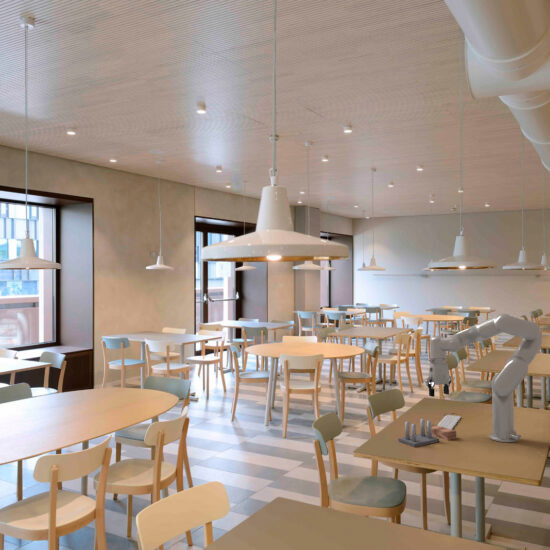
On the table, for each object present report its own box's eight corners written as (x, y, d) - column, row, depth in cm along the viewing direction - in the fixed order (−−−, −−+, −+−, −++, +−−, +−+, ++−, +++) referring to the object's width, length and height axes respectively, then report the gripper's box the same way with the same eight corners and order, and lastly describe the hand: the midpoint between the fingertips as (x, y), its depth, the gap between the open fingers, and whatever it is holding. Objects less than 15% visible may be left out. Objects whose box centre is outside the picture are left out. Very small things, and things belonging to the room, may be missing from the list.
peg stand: (439, 441, 262) (438, 421, 262) (414, 447, 254) (413, 426, 254) (422, 436, 272) (422, 417, 272) (398, 441, 264) (397, 421, 264)
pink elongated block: (456, 439, 267) (456, 430, 267) (447, 441, 264) (447, 432, 264) (434, 432, 279) (434, 424, 279) (426, 434, 276) (426, 426, 276)
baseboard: (431, 430, 285) (451, 432, 280) (431, 424, 285) (451, 426, 280) (442, 416, 312) (461, 418, 307) (442, 411, 312) (461, 413, 307)
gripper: (430, 363, 268) (431, 398, 268) (456, 360, 276) (457, 394, 276) (420, 361, 275) (420, 395, 275) (445, 358, 283) (446, 392, 283)
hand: (439, 395), depth 275 cm, fingers open, 9 cm apart
